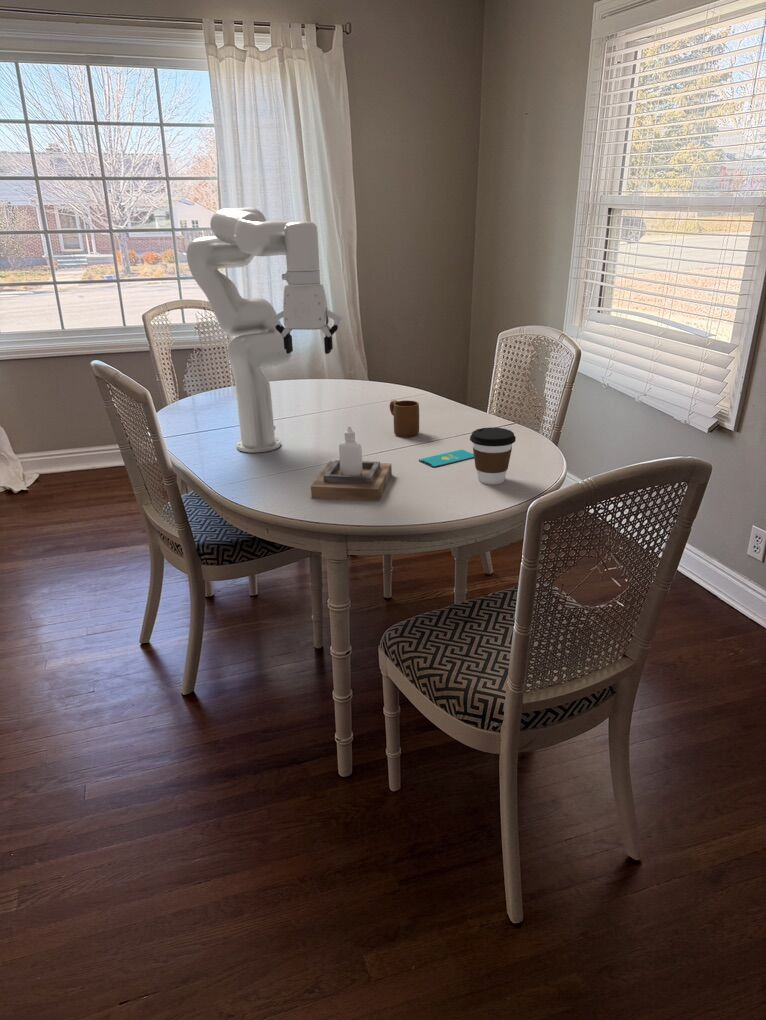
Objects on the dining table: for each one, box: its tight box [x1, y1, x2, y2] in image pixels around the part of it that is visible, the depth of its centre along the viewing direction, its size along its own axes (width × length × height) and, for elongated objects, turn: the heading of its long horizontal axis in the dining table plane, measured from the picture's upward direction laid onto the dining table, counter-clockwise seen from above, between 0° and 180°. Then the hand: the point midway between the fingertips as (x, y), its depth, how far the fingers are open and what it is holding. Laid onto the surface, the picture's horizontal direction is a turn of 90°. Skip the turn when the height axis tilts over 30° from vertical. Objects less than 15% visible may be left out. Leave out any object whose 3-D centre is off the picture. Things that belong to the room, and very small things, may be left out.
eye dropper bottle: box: [338, 425, 363, 475], centre depth 169 cm, size 4×6×12 cm
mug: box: [389, 399, 420, 438], centre depth 211 cm, size 12×8×9 cm, turn 34°
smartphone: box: [418, 449, 474, 469], centre depth 189 cm, size 7×1×15 cm
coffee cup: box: [469, 426, 516, 485], centre depth 171 cm, size 11×11×12 cm
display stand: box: [310, 459, 393, 502], centre depth 171 cm, size 18×16×4 cm
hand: (308, 352), depth 171 cm, fingers open, 9 cm apart
